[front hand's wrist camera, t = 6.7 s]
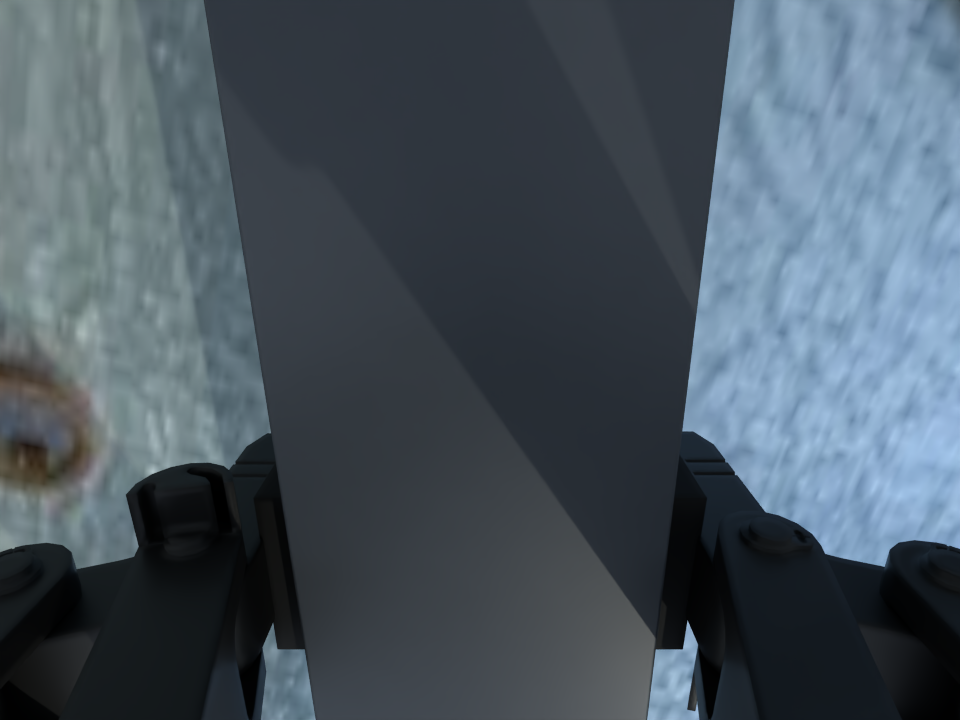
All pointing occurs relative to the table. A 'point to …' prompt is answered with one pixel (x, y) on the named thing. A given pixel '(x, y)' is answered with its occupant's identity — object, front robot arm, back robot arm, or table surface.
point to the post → (474, 332)
